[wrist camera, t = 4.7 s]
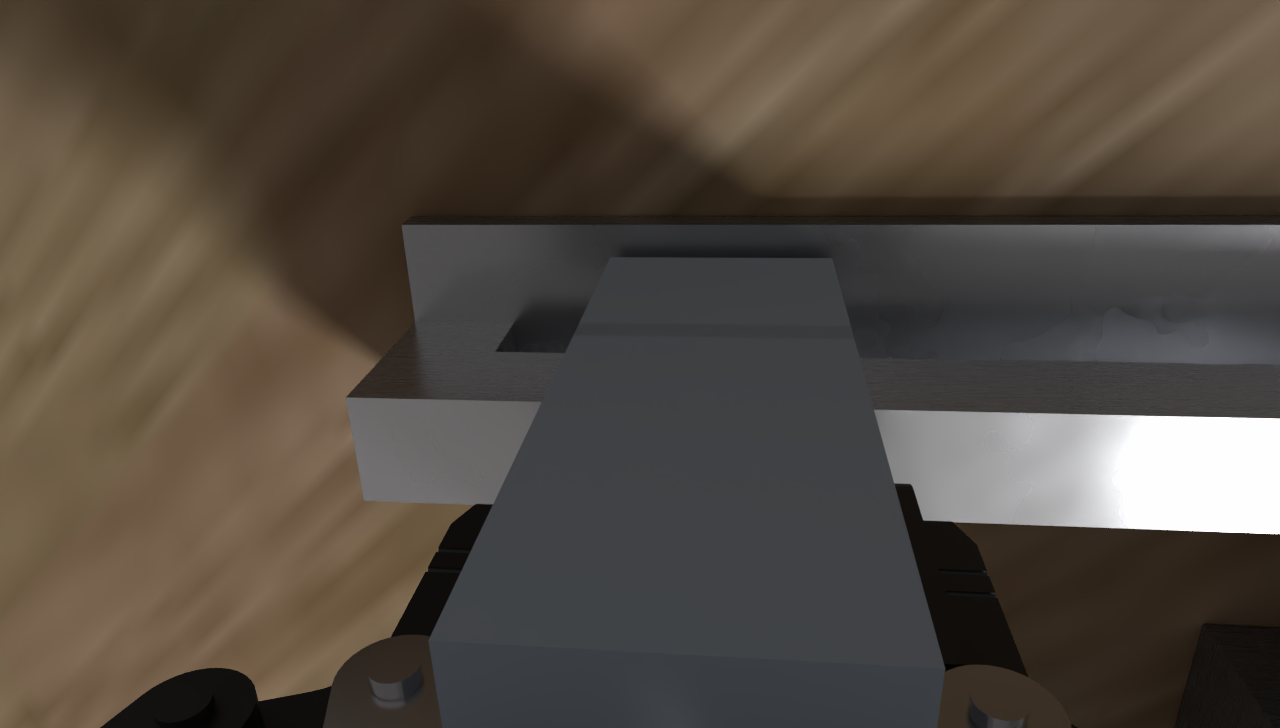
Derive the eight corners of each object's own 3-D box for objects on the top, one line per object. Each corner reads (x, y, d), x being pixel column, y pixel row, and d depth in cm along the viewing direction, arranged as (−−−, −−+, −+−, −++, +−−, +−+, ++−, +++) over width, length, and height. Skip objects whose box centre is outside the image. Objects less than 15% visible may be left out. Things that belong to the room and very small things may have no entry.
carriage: (610, 257, 17) (428, 640, 7) (832, 258, 16) (946, 669, 7) (621, 491, 19) (489, 1027, 9) (818, 497, 18) (889, 1068, 9)
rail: (412, 217, 18) (324, 282, 14) (1603, 215, 15) (1868, 293, 12) (447, 479, 20) (380, 593, 16) (1480, 514, 18) (1668, 656, 14)
